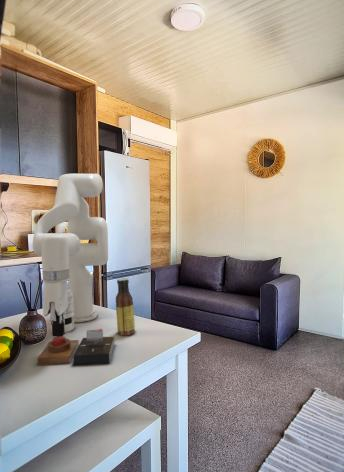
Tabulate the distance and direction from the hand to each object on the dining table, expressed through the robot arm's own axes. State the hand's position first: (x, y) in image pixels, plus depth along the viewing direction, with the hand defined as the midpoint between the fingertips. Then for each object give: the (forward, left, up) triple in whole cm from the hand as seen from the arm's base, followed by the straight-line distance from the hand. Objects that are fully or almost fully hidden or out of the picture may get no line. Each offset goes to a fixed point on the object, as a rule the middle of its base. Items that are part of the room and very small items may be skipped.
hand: (58, 335), depth 93 cm
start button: (0, 0, -3) cm, 3 cm away
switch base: (+1, +11, -6) cm, 13 cm away
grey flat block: (+1, +11, -3) cm, 11 cm away
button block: (0, 0, -6) cm, 6 cm away
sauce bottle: (-16, +19, -7) cm, 26 cm away
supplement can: (-22, -5, -7) cm, 24 cm away
